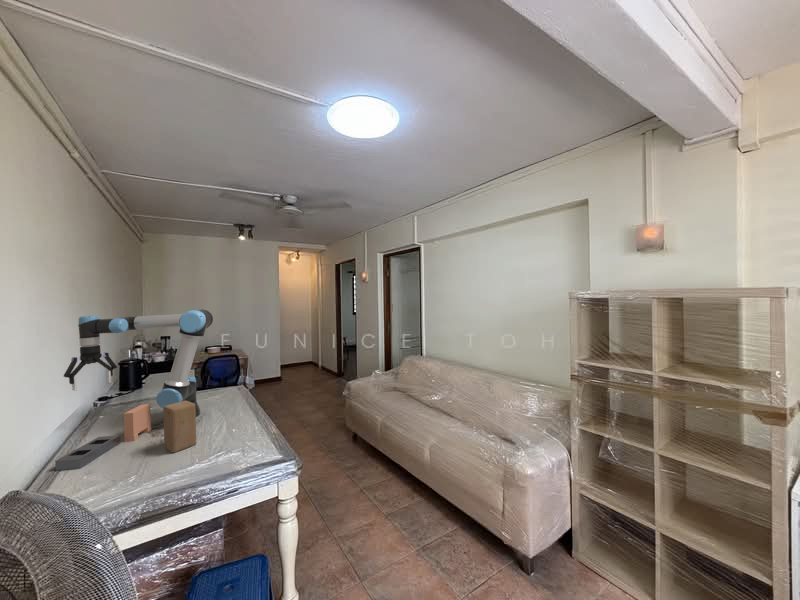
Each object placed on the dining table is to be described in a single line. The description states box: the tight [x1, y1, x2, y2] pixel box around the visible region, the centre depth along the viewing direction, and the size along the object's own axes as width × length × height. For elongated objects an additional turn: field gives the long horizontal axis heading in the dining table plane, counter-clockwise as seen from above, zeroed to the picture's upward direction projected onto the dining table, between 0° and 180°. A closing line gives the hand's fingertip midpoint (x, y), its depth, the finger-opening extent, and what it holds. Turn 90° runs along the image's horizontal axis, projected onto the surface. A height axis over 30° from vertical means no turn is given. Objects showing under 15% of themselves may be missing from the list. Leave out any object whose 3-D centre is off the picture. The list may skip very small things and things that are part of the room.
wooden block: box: [162, 401, 197, 453], centre depth 148 cm, size 10×10×20 cm
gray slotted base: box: [54, 435, 121, 472], centre depth 140 cm, size 9×22×4 cm, turn 8°
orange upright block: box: [123, 403, 152, 443], centre depth 160 cm, size 4×13×14 cm, turn 8°
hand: (92, 386), depth 163 cm, fingers open, 13 cm apart
